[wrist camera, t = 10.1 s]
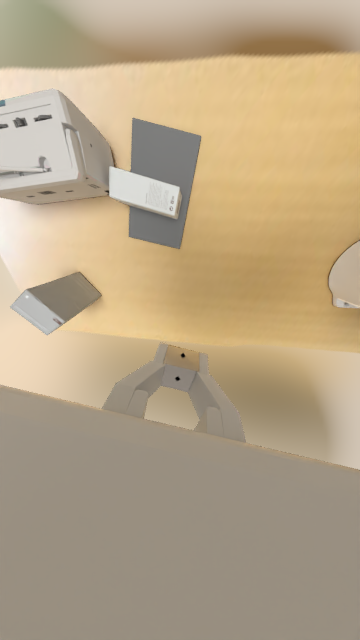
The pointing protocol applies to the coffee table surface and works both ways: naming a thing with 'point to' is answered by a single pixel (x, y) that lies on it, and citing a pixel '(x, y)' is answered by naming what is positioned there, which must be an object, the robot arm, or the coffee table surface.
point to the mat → (162, 177)
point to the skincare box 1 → (55, 301)
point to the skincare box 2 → (144, 192)
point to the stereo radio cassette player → (50, 150)
